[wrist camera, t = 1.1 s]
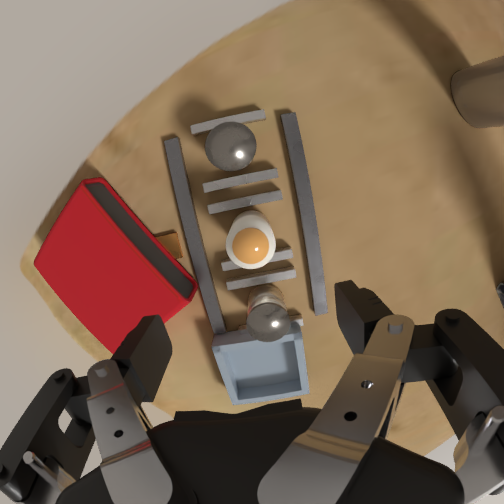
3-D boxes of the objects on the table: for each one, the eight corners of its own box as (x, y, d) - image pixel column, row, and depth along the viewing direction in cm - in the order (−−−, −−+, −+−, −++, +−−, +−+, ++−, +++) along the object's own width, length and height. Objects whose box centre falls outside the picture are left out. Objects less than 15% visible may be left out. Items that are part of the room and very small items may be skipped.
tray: (297, 319, 34) (301, 331, 31) (306, 379, 37) (309, 393, 34) (214, 333, 35) (211, 346, 32) (233, 391, 38) (232, 405, 35)
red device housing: (52, 250, 32) (31, 261, 27) (102, 176, 29) (79, 180, 24) (133, 340, 36) (120, 361, 31) (199, 284, 32) (189, 304, 28)
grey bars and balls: (292, 107, 27) (301, 93, 22) (326, 315, 34) (338, 338, 29) (132, 146, 28) (110, 142, 23) (186, 339, 35) (177, 364, 30)
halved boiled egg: (266, 206, 30) (270, 216, 23) (274, 244, 32) (280, 265, 25) (227, 214, 31) (220, 227, 24) (236, 251, 32) (231, 274, 25)
